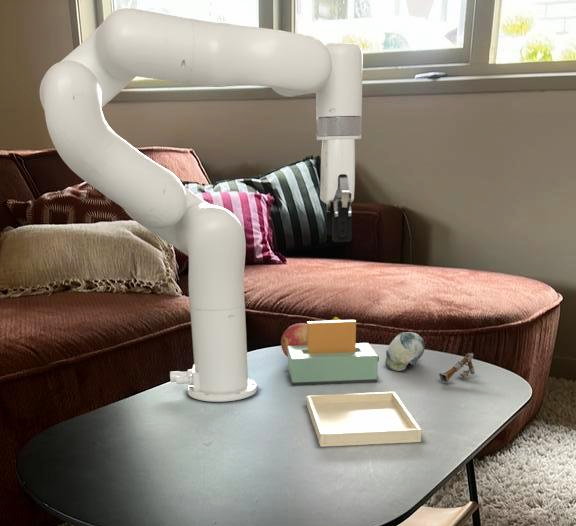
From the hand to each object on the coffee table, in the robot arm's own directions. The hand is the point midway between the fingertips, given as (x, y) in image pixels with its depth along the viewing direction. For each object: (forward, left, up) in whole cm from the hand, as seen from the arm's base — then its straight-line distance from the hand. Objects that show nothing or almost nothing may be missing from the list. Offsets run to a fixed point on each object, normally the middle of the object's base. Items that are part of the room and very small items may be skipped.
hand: (338, 238), depth 134 cm
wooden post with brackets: (+22, -4, -26) cm, 34 cm away
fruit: (-6, +12, -26) cm, 29 cm away
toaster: (-1, +2, -25) cm, 25 cm away
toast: (-1, +2, -25) cm, 25 cm away
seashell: (+15, +8, -26) cm, 31 cm away
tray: (0, -26, -25) cm, 36 cm away
